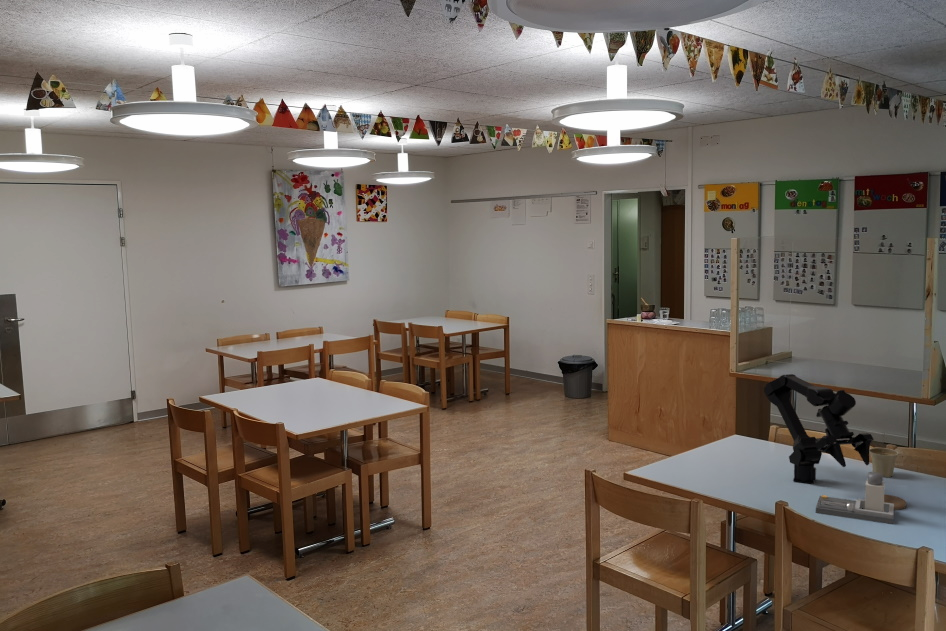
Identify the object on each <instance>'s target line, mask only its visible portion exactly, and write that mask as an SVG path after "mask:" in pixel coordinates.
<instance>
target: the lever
mask: <svg viewBox="0 0 946 631" xmlns="http://www.w3.org/2000/svg"><path fill="white" fill-rule="evenodd" d="M817 503H818V506H821V504H827V505H834V506H841V507H847V511H848V512H853V503H847V504H844V503H837V502H829V501H822V500H819V499H818V501H817Z"/></svg>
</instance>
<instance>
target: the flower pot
mask: <svg viewBox="0 0 946 631" xmlns="http://www.w3.org/2000/svg"><path fill="white" fill-rule="evenodd" d="M899 454H900V453H899V452H898V451H897V450H895V449H891V448H887V447H886V448H885V447H872V448H871V447H870V449H869V456H870V458H871V465H872V466H871V468H872V472H877V473H881V474H882V475H883V477H885V478H892V477H893V476H894V470H895V465H896V462H897V461H896V460H897V457H898V456H899ZM891 476H892V477H891Z"/></svg>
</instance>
